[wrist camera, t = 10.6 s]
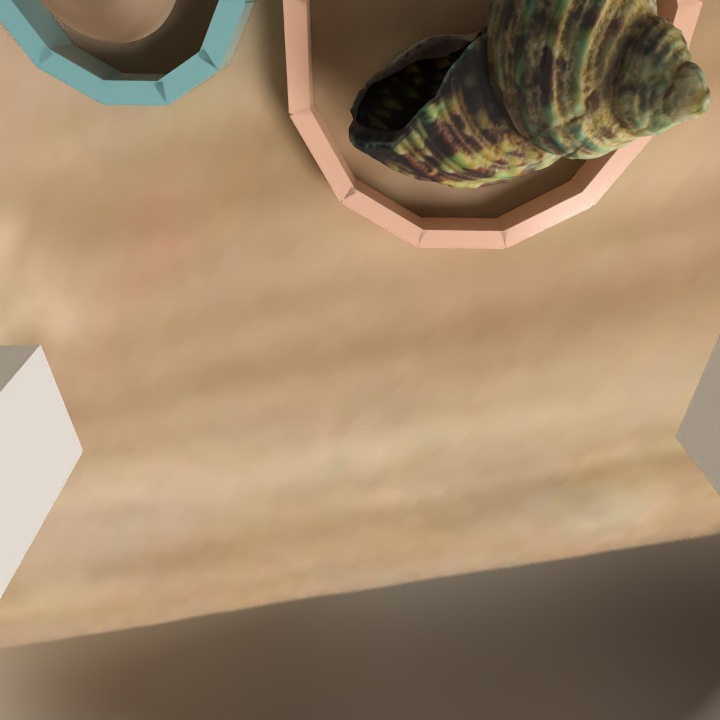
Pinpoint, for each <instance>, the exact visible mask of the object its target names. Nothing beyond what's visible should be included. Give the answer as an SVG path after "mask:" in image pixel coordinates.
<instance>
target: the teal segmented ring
mask: <svg viewBox="0 0 720 720" xmlns="http://www.w3.org/2000/svg"><path fill="white" fill-rule="evenodd" d="M254 1H255V0H219V2H218V4H217V7H216V10H215V12H214V15H213V18H212V20H211V23H210V26H209V28H208V31H207V34H206V36H205V39H204V41H203V44H202V47H201V49H200V52H198V53H197V54H195V55H194V56H192V57H191V58H190V59H188V60H187V61H185V62H184V63H183V64H181V65H180V66H178V67H177V68H175V69H174V70H173V71H171V72H170V73H168V74H134V73H122V72H120V71H119V70H117V69H115V68H113V67H112V66H110V65H108V64H107V63H105V62H103V61H102V60H100V59H98V58H96V57H95V56H93V55H91V54H90V53H88V52H86V51H84V50H83V49H81V48H79V47H78V46H76V45H74V44H73V43H72V41H71V40H70V39H69V37H68V36H67V35H66V33H65V32H64V31H63V29H62V28H61V27H60V25H59V24H58V23H57V21H56V20H55V19H54V17H53V16H52V15H51V13H50V12H49V11H48V9H47V8H46V7H45V6H44V5H43V4H42V3H41V1H40V0H0V21H1V22H2V24H3V25H4V26H5V27H6V29H7V30H8V31H9V33H10V34H11V35H12V36H13V38H14V39H15V40H16V41H17V43H18V44H19V45H20V46H21V48H22V49H23V50H24V51H25V53H26V54H27V55H28V56H29V58H30V59H31V60H32V62H33V63H34V64H35V65H36V67H38V68H39V69H41V70H43V71H44V72H46V73H48V74H50V75H52V76H53V77H55V78H57V79H59V80H60V81H62V82H64V83H66V84H68V85H69V86H71V87H73V88H75V89H76V90H78V91H80V92H82V93H84V94H85V95H87V96H89V97H91V98H93V99H94V100H96V101H98V102H100V103H101V104H104V105H165V106H167V105H169V104H171V103H172V102H174V101H176V100H177V99H179V98H181V97H182V96H184V95H185V94H187V93H188V92H190V91H191V90H193V89H194V88H195V87H197V86H198V85H200V84H201V83H203V82H204V81H206V80H207V79H209V78H210V77H212V76H213V75H214V74H216V73H217V72H219V71H220V70H222V69H223V68H225V67H226V66H228V65H229V64H230V62H231V60H232V57H233V55H234V52H235V50H236V47H237V45H238V42H239V40H240V38H241V35H242V33H243V30H244V28H245V25H246V23H247V20H248V18H249V15H250V13H251V10H252V8H253V6H254V3H255V2H254Z"/></svg>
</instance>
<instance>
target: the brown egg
mask: <svg viewBox="0 0 720 720" xmlns="http://www.w3.org/2000/svg"><path fill="white" fill-rule="evenodd" d="M40 1H41V3H42V4H43V5H44V6H45V7H46V8H47V9H48V10H49V11H50V12H51V13H52V14H53V15H54V16H55V17H56V18H57V19H59V20H60V21H61V22H62V23H63V24H65V25H66V26H68V27H69V28H71V29H72V30H74V31H76V32H78V33H80V34H82V35H84V36H86V37H89V38H92V39H94V40H98V41H102V42H107V43H128V42H133V41H137V40H139V39H142V38H144V37H146V36H148V35H150V34H151V33H153V32H155V31H156V30H157V29H158V28H159V27H160V26H161V25H162V24H163V23H164V22H165V20H166V19H167V18H168V16H169V14H170V13H171V11H172V9H173V7H174V5H175V2H176V0H40Z"/></svg>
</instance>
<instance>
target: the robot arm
mask: <svg viewBox="0 0 720 720" xmlns="http://www.w3.org/2000/svg"><path fill="white" fill-rule="evenodd" d="M676 438H677V439H678V441H679V442H680V443H681V445H682V446H683V447H684V449H685V450H686V451H687V453H688V454H689V455H690V457H691V458H692V459H693V461H694V462H695V463H696V465H697V466H698V467H699V469H700V470H701V471H702V473H703V474H704V475H705V477H706V478H707V479H708V481H709V482H710V483H711V485H712V486H713V487H714V489H715V490H716V491H717V493H718V494H719V495H720V335H719V337H718V340H717V342H716V344H715V347H714V349H713V351H712V354H711V356H710V358H709V361H708V363H707V365H706V367H705V370H704V372H703V374H702V377H701V379H700V381H699V384H698V386H697V388H696V391H695V393H694V395H693V397H692V400H691V402H690V404H689V407H688V409H687V411H686V414H685V416H684V418H683V421H682V423H681V425H680V428H679V430H678V432H677V434H676ZM82 452H83V450H82V447H81V445H80V442H79V440H78V437H77V435H76V432H75V430H74V427H73V425H72V422H71V420H70V417H69V415H68V412H67V410H66V407H65V405H64V402H63V400H62V397H61V395H60V392H59V390H58V387H57V385H56V382H55V380H54V377H53V375H52V372H51V370H50V367H49V365H48V362H47V360H46V357H45V355H44V352H43V350H42V347H41V345H5V346H0V598H1V596H2V594H3V593H4V591H5V589H6V587H7V585H8V584H9V582H10V580H11V578H12V577H13V575H14V573H15V571H16V569H17V568H18V566H19V564H20V562H21V561H22V559H23V557H24V555H25V553H26V552H27V550H28V548H29V546H30V545H31V543H32V541H33V539H34V537H35V536H36V534H37V532H38V530H39V529H40V527H41V525H42V523H43V521H44V520H45V518H46V516H47V514H48V513H49V511H50V509H51V507H52V505H53V504H54V502H55V500H56V498H57V497H58V495H59V493H60V491H61V489H62V488H63V486H64V484H65V482H66V480H67V479H68V477H69V475H70V473H71V472H72V470H73V468H74V466H75V464H76V463H77V461H78V459H79V457H80V456H81V454H82Z"/></svg>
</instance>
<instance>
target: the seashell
mask: <svg viewBox="0 0 720 720" xmlns="http://www.w3.org/2000/svg"><path fill="white" fill-rule="evenodd" d="M709 104H710V90H709V88H708V86H707V84H706V81H705V78H704V75H703V72H702V70H701V69H700V68H699V67H698V66H697V64H695V63H692V56H691V54H690V52H689V50H688V45H687V42H686V40H685V38H684V36H683V33H682V31H681V30H679V29H678V28H676V27H675V26H674V25H673V24H672V23H671V22H670V20H669V19H668V18H662V17H659V16H657V4H656V0H493V1H492V4H491V6H490V12H489V17H488V18H487V20H486V21H485V23H484V25H483V26H482V27H481V28H480V29H479V30H478V31H476V32H473V33H470V34H441V35H433V36H430V37H427V38H424V39H422V40H420V41H418V42H417V43H415V44H414V45H412V46H411V47H409V48H408V49H407V50H406V51H403V52H400V53H398V55H397V56H396V57H395V58H394V59H393V60H392V61H391V63H390V64H389V65H388V66H387V67H386V68H385V69H384V70H382V71H381V72H379V73H376V74H375V75H374V76H373V77H372V78H371V79H370V80H369V81H368V82H367V84H366V87H365V88H364V89H362V90H361V91H360V92H359V94H358V96H357V98H356V100H355V102H354V104H353V107H352V109H351V110H350V111H351V114H352V116H353V121H352V123H351V125H350V127H349V139H350V142H351V143H352V144H353V146H354V147H356V148H357V149H359V150H360V151H362V152H364V153H365V154H368V155H370V156H371V157H372V158H374V159H376V160H378V161H380V162H381V163H383V164H384V165H386V166H387V167H389V168H391V169H393V170H395V171H398V172H400V173H402V174H404V175H407V176H410V177H413V178H416V179H418V180H424V181H433V182H438V183H440V184H444V185H449V186H450V187H461V188H477V187H484V186H489V185H495V184H498V183H506V182H508V181H510V180H514V179H516V178H518V177H520V176H522V175H525V174H527V173H530V172H533V171H536V170H540V169H543V168H545V167H548V166H549V165H551V164H552V163H554V162H555V161H557V160H558V159H560V158H561V157H562V156H563V157H566V158H569V159H592V158H598V157H601V156H603V155H605V154H607V153H609V152H611V151H614V150H617V149H619V148H622V147H624V146H627V145H629V144H630V143H631V142H633V141H634V140H635V139H637V138H639V137H645V136H651V135H657V134H660V133H662V132H664V131H666V130H668V129H670V128H671V127H673V126H675V125H677V124H678V123H681V122H685V121H689V120H694V119H696V118H697V117H699V116H700V115H702V114H703V113H704V112H706V111H707V110H708V107H709Z"/></svg>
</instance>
